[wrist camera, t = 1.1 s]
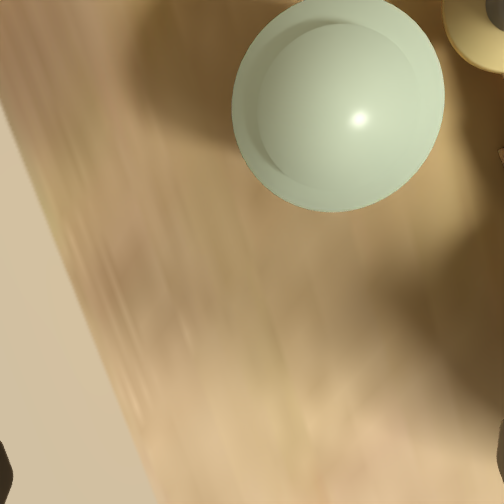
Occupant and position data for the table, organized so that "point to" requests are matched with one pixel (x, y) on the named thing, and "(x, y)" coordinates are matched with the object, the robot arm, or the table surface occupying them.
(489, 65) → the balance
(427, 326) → the table surface
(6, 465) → the robot arm
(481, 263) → the table surface
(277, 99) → the sage cup
